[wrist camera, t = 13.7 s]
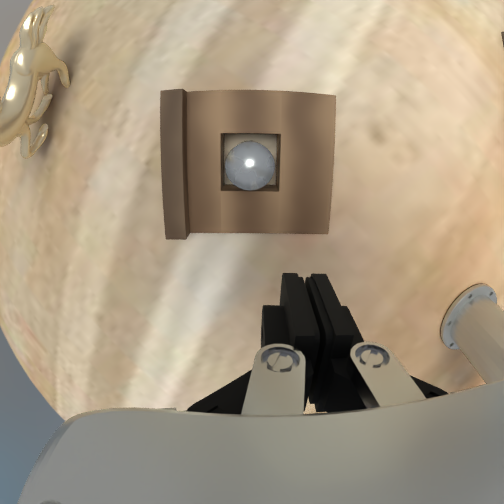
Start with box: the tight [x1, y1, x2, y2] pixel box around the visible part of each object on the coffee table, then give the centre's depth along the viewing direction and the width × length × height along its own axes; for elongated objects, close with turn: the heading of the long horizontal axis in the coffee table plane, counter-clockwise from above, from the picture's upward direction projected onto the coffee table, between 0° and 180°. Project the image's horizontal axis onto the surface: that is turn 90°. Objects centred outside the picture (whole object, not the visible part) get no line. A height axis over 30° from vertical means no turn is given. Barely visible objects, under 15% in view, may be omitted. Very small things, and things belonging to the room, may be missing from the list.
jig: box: [160, 89, 336, 239], centre depth 28 cm, size 16×14×6 cm
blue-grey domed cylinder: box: [225, 141, 275, 190], centre depth 27 cm, size 4×4×8 cm
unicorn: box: [0, 5, 70, 159], centre depth 19 cm, size 20×4×17 cm, turn 156°
